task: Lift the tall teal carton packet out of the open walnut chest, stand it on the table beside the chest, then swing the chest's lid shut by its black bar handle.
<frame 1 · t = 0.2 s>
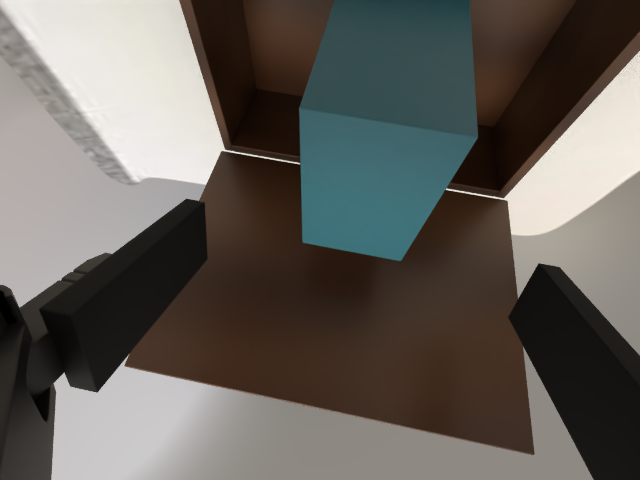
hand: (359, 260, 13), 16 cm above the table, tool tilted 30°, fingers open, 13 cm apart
packet: (395, 3, 18), point 1 cm above the table, touching chest
lid: (338, 293, 21), point 14 cm above the table, hinge at 90.0°
chest: (391, 16, 19), on the table
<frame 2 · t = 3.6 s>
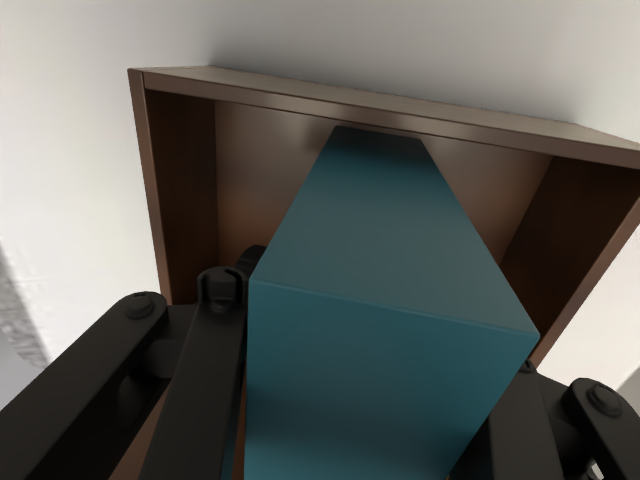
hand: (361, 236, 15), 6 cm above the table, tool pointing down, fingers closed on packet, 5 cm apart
packet: (363, 197, 19), point 1 cm above the table, touching chest, gripper
chest: (360, 208, 20), on the table
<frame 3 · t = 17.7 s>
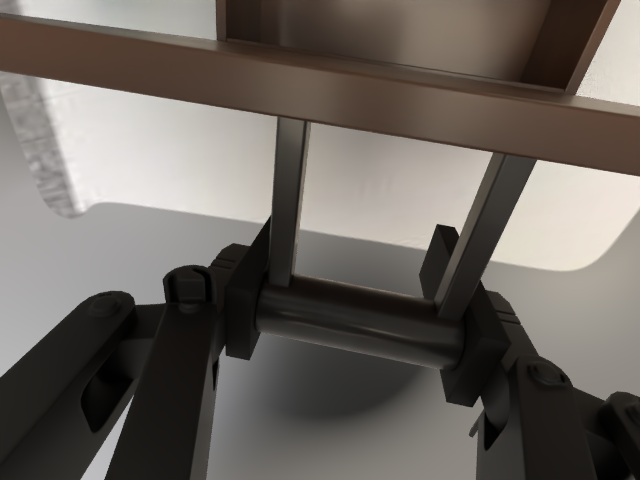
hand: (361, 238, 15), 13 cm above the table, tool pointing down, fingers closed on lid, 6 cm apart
lid: (375, 182, 13), point 14 cm above the table, hinge at 90.0°, touching gripper
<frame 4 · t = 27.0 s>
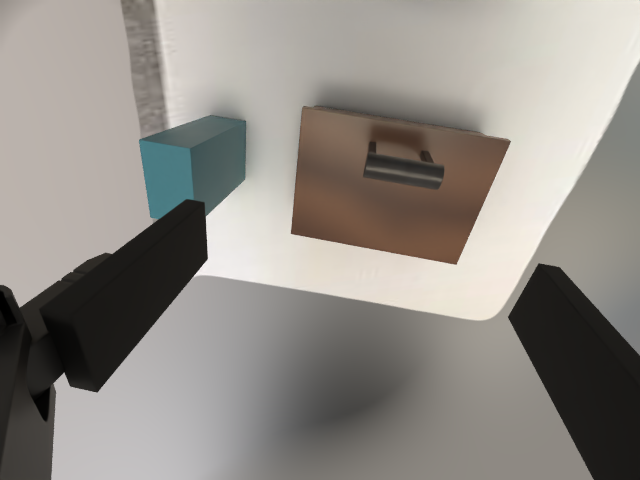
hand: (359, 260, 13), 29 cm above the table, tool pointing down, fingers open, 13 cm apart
packet: (228, 148, 41), on the table
lid: (387, 206, 31), point 11 cm above the table, hinge at 2.5°
chest: (383, 174, 40), on the table
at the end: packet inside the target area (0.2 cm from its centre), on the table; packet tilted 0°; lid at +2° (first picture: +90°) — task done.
